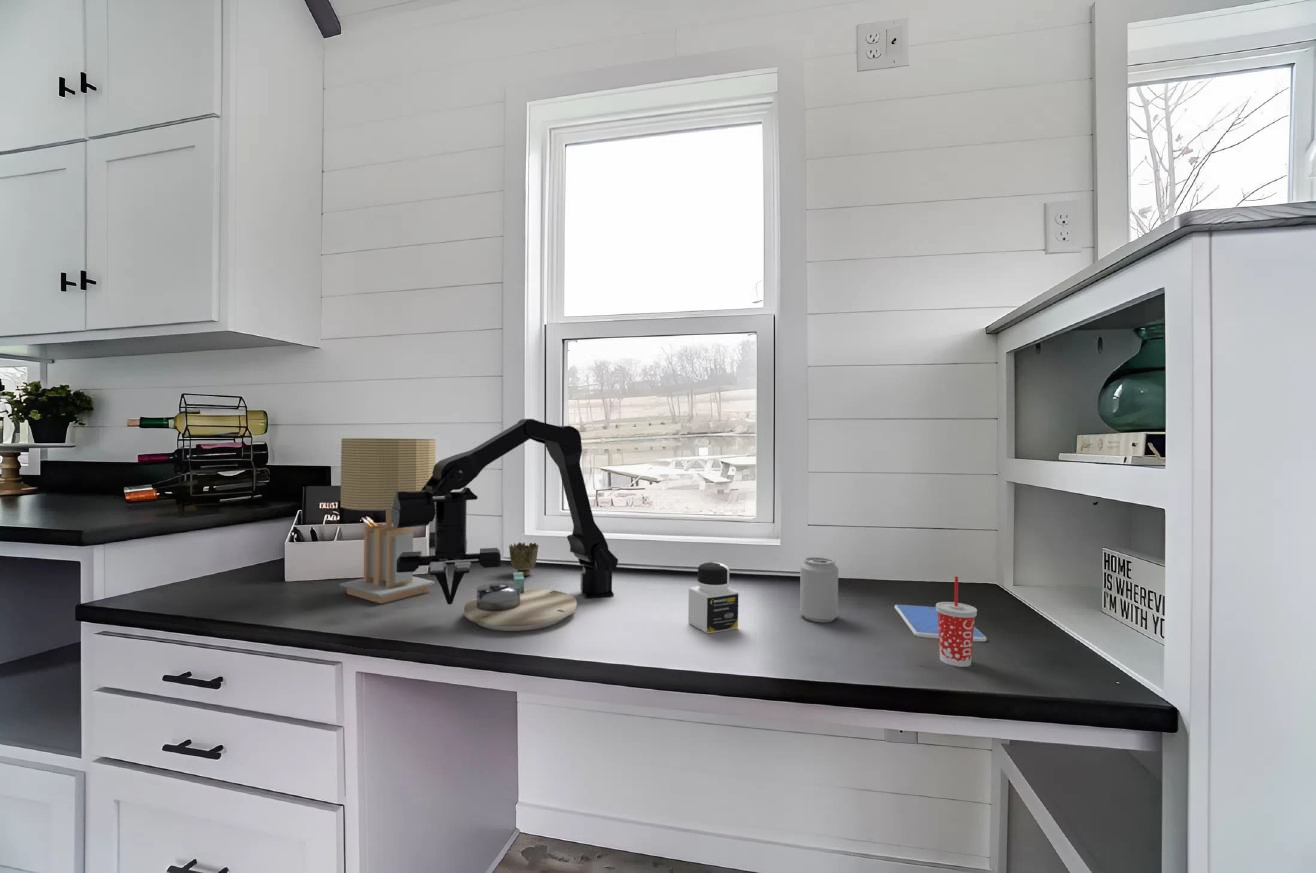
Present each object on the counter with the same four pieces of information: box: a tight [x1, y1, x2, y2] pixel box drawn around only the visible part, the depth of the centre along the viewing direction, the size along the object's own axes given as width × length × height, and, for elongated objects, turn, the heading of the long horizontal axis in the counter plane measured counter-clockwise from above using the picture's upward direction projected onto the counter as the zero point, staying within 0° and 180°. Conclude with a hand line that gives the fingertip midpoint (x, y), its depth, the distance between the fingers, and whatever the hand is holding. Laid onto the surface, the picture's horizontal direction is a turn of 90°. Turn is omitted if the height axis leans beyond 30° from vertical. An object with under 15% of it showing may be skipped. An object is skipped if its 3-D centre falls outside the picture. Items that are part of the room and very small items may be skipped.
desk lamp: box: [339, 437, 436, 604], centre depth 130 cm, size 20×20×35 cm
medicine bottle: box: [687, 561, 739, 635], centre depth 110 cm, size 7×7×12 cm
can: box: [799, 556, 839, 623], centre depth 116 cm, size 8×8×12 cm
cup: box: [508, 541, 539, 577], centre depth 148 cm, size 8×7×8 cm
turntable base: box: [476, 618, 565, 632], centre depth 115 cm, size 18×18×1 cm
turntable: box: [463, 572, 578, 626], centre depth 115 cm, size 22×22×4 cm
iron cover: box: [476, 581, 520, 611], centre depth 114 cm, size 8×8×4 cm
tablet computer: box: [894, 604, 988, 642], centre depth 114 cm, size 19×13×1 cm, turn 168°
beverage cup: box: [935, 576, 978, 668], centre depth 94 cm, size 6×6×14 cm
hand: (450, 603), depth 111 cm, fingers closed
